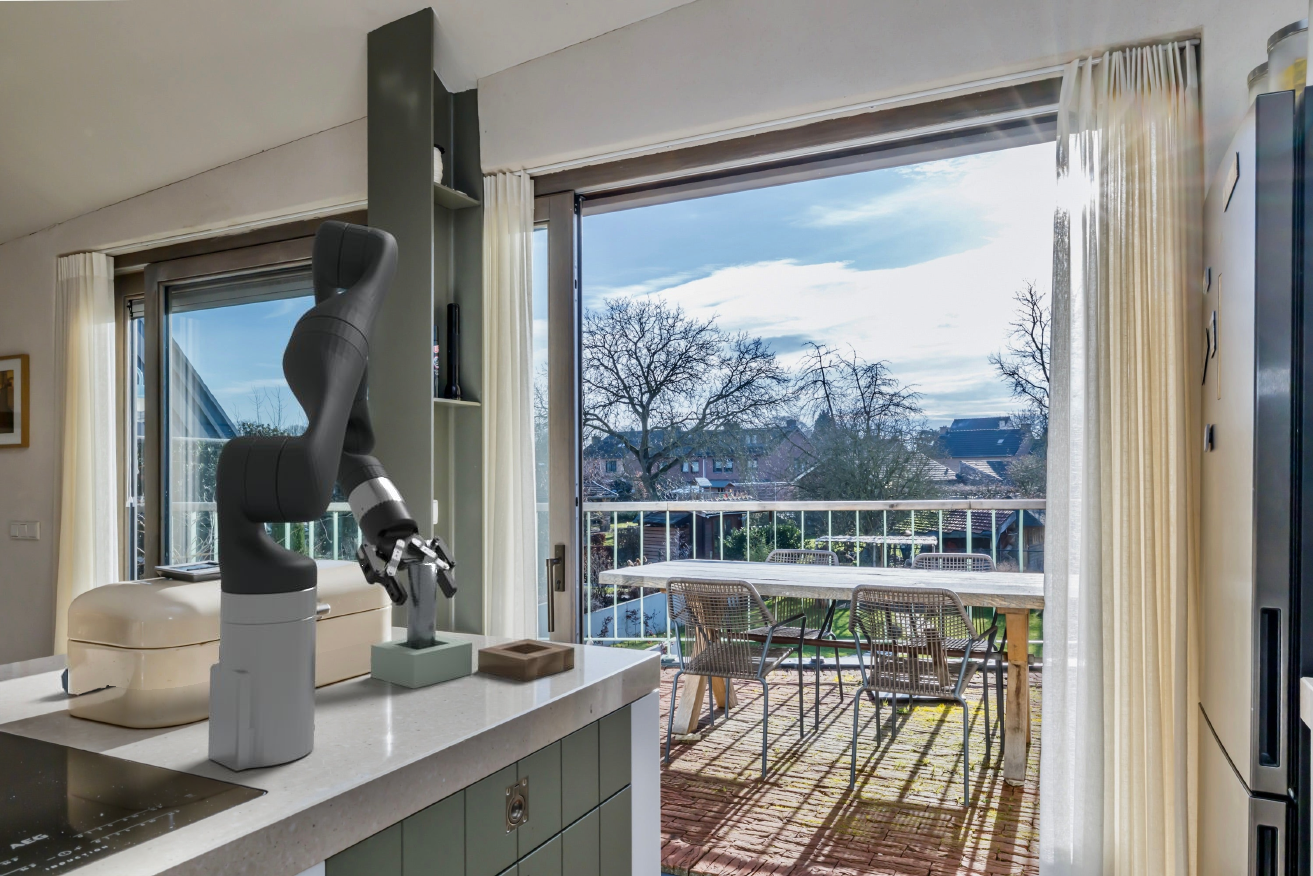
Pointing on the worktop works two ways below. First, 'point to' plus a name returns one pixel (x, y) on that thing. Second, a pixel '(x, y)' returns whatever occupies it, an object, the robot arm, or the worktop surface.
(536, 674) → the walnut socket
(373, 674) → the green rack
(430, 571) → the ball
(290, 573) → the robot arm
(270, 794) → the worktop surface
